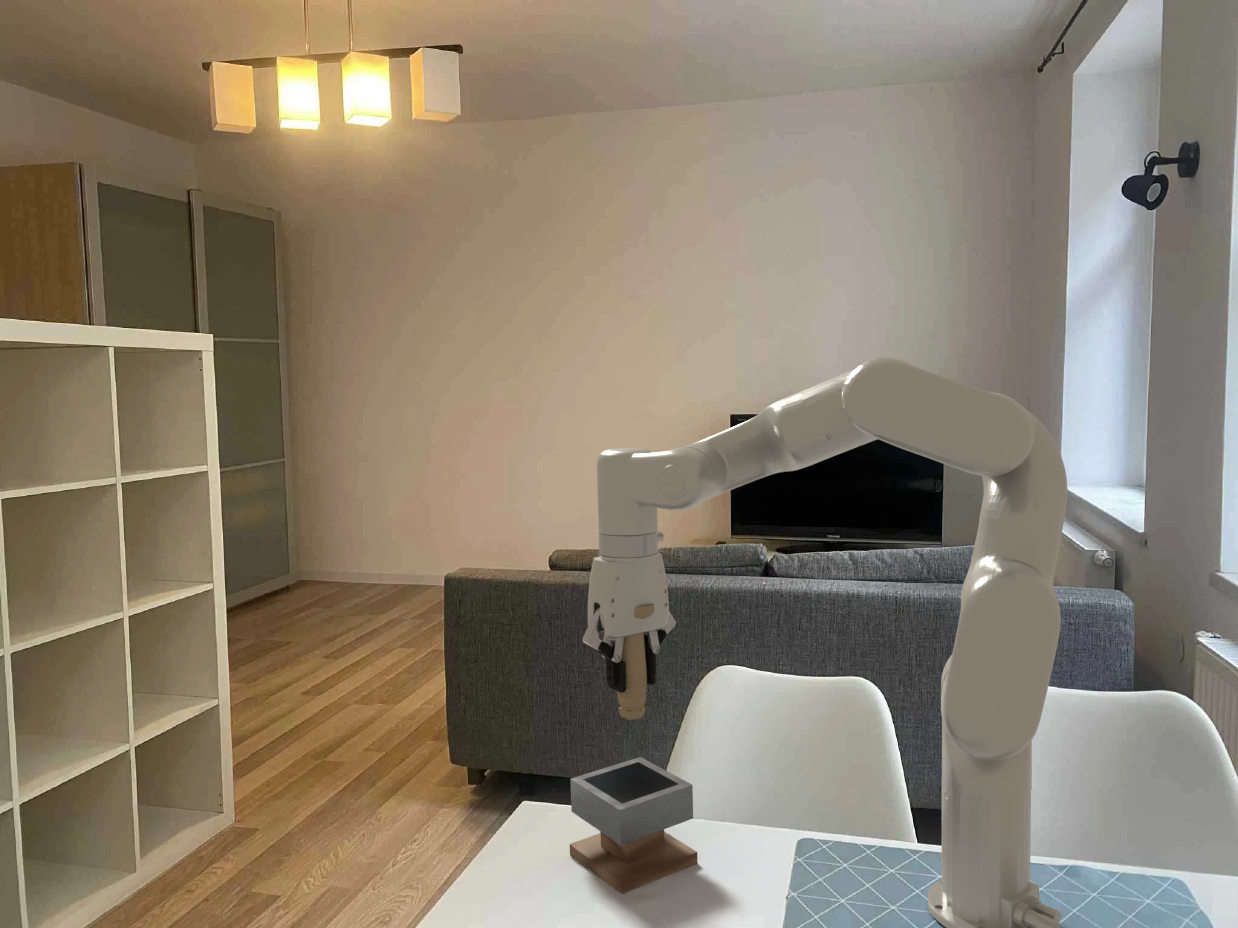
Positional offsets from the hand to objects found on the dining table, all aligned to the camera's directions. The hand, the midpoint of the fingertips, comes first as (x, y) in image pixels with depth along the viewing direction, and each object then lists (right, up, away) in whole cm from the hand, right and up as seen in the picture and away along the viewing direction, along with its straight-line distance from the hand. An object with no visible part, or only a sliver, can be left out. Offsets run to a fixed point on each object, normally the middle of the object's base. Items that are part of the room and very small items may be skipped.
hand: (631, 684), depth 120 cm
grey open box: (0, -17, +2) cm, 17 cm away
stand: (0, -23, +2) cm, 23 cm away
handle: (0, -4, 0) cm, 4 cm away
